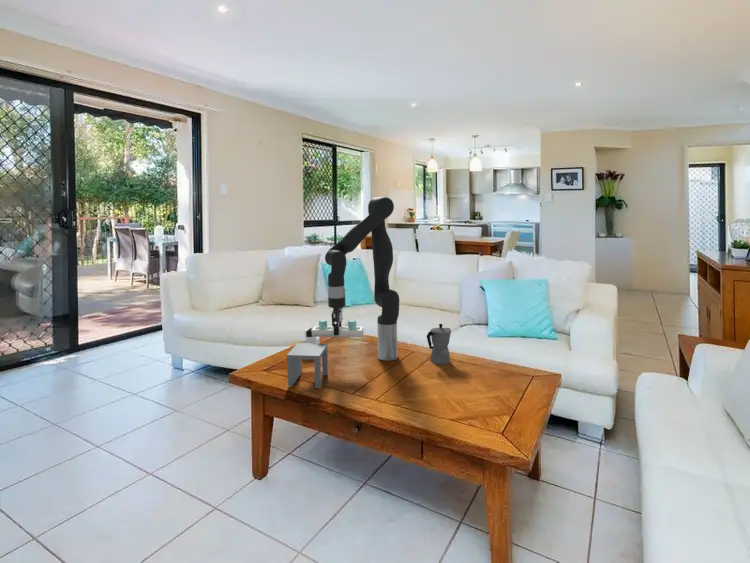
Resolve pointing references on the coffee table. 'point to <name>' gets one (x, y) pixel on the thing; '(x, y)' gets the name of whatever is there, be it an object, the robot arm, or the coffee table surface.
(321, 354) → the grey stand
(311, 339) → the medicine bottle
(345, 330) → the tray
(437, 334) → the coffeepot
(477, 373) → the coffee table surface
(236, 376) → the coffee table surface
